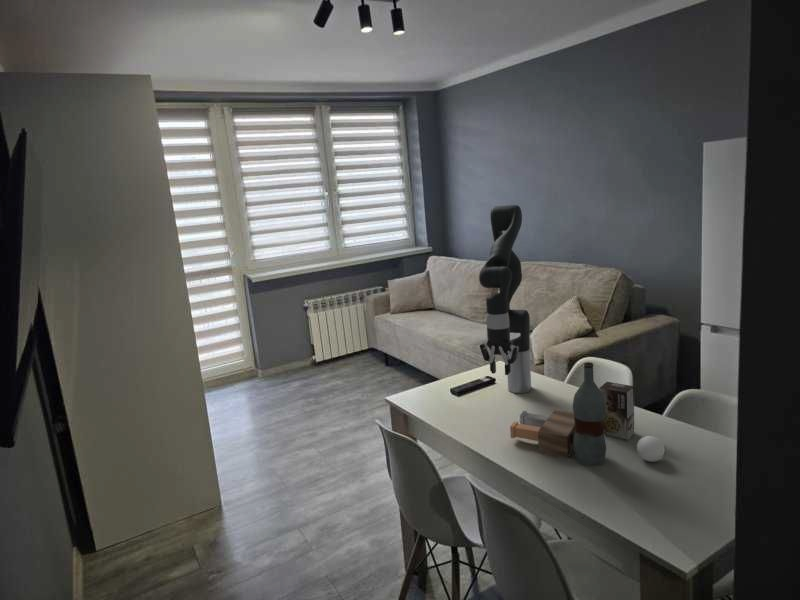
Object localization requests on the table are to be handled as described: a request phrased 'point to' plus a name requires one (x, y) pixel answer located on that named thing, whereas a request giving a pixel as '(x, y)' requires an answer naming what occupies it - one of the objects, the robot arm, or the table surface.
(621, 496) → the table surface
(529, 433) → the rust plug
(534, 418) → the grey plug
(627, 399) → the coffee box
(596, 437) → the bottle
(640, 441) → the white egg
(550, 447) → the socket block
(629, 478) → the table surface
